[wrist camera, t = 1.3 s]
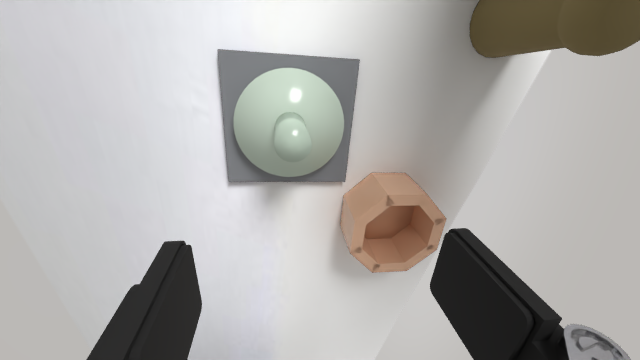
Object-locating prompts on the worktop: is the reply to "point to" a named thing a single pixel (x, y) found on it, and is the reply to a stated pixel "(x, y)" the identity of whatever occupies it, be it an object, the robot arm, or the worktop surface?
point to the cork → (554, 26)
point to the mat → (249, 65)
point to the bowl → (390, 222)
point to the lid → (288, 122)
